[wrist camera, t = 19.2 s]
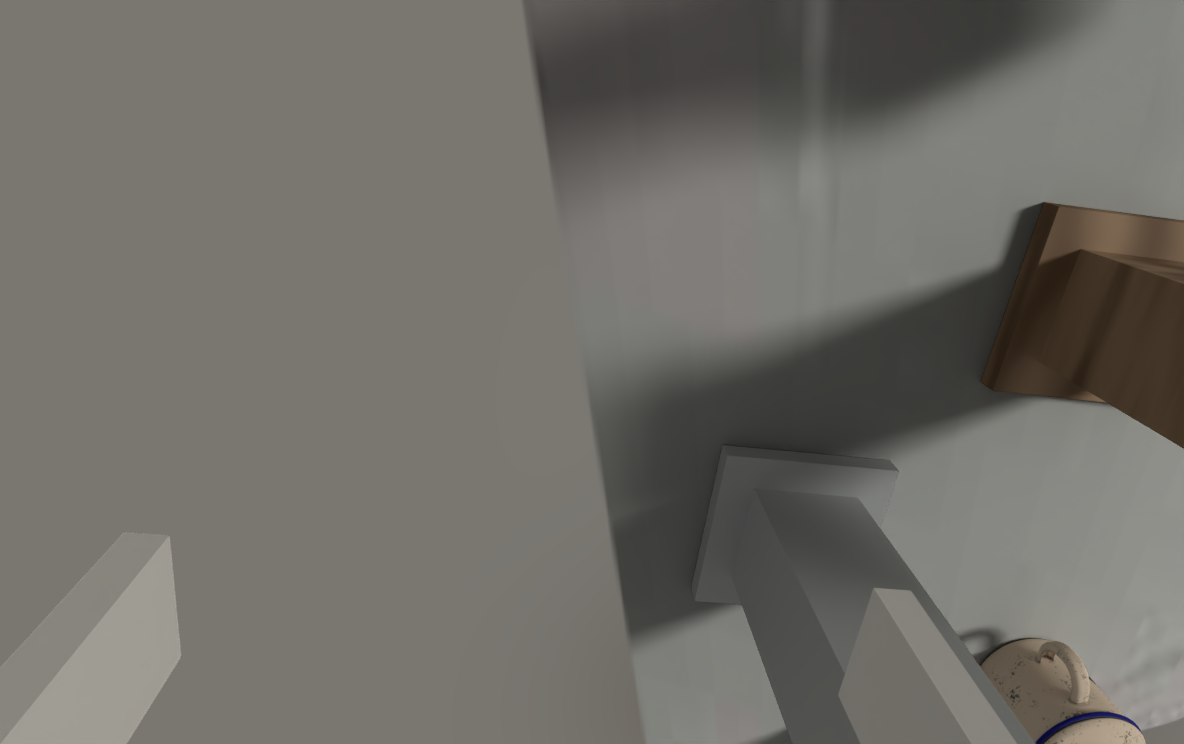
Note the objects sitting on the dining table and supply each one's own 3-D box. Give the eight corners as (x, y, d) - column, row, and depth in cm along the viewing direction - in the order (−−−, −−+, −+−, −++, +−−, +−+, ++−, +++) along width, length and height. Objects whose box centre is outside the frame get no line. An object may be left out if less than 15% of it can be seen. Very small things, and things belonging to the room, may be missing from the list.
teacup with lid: (1064, 706, 67) (1164, 828, 56) (965, 719, 67) (1045, 844, 56) (1082, 600, 62) (1194, 711, 51) (975, 614, 62) (1065, 728, 51)
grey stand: (690, 588, 59) (816, 1041, 32) (722, 445, 55) (902, 832, 27) (845, 599, 61) (1095, 1044, 33) (889, 460, 56) (1225, 844, 28)
